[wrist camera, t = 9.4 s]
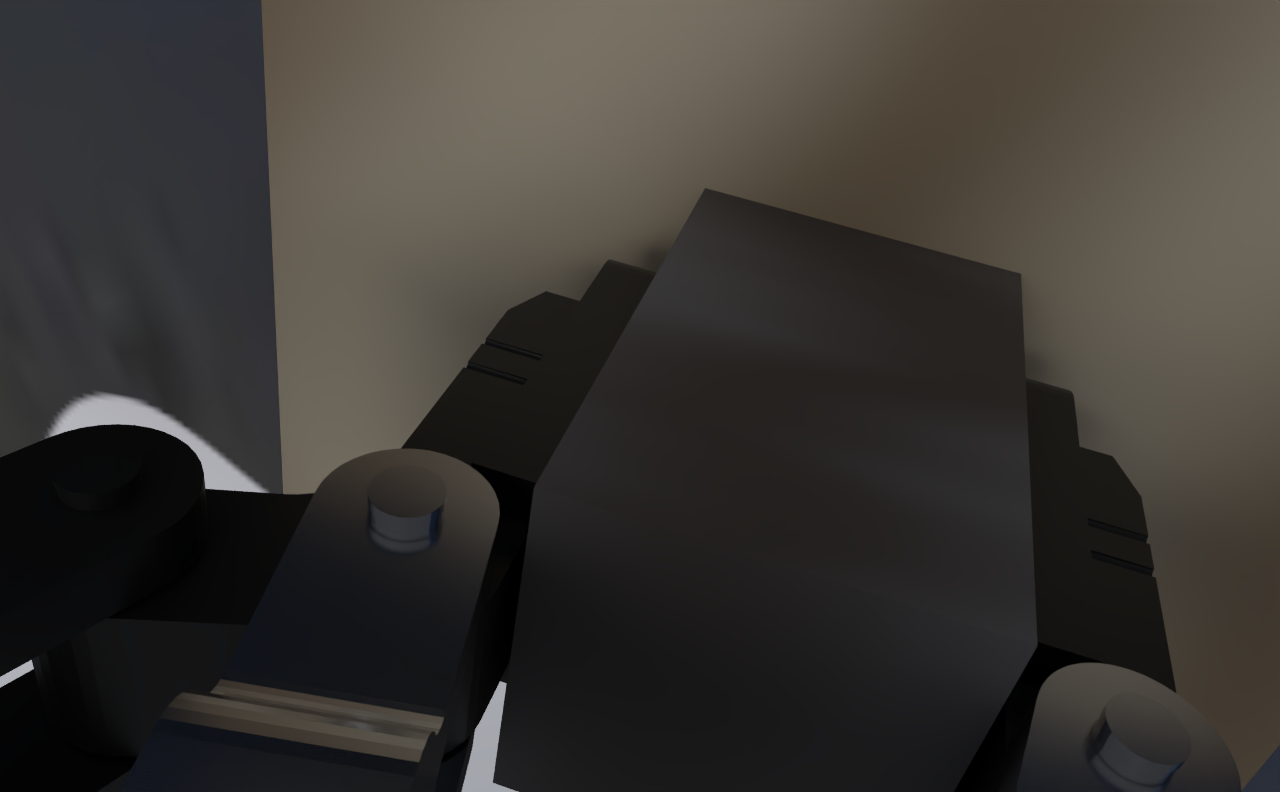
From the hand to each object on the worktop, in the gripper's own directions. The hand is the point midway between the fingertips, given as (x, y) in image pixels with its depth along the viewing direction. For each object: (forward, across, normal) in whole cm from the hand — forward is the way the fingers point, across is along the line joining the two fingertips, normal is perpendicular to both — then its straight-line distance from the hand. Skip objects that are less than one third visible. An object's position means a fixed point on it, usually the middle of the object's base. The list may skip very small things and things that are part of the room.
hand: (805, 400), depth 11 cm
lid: (+2, 0, 0) cm, 2 cm away
